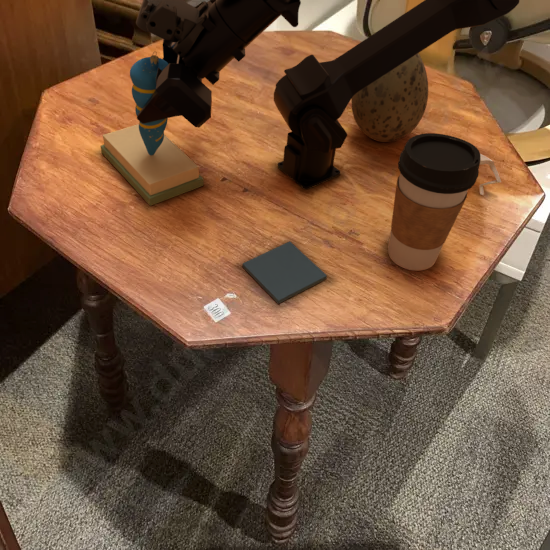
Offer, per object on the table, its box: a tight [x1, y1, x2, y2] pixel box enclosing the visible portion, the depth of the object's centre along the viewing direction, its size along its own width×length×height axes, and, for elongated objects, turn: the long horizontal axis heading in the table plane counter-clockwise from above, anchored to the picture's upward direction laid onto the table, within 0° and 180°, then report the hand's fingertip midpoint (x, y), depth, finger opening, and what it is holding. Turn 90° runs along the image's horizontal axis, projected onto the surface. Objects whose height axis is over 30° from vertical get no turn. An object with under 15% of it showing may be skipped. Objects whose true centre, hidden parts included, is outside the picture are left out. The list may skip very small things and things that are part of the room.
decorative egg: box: [350, 52, 429, 143], centre depth 86 cm, size 11×11×15 cm
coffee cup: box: [387, 132, 481, 272], centre depth 68 cm, size 8×8×15 cm
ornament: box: [129, 52, 169, 155], centre depth 74 cm, size 5×5×15 cm
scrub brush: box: [100, 123, 205, 207], centre depth 82 cm, size 8×14×3 cm, turn 37°
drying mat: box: [241, 241, 328, 304], centre depth 70 cm, size 7×7×1 cm
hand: (142, 109), depth 74 cm, fingers closed on ornament, 5 cm apart
